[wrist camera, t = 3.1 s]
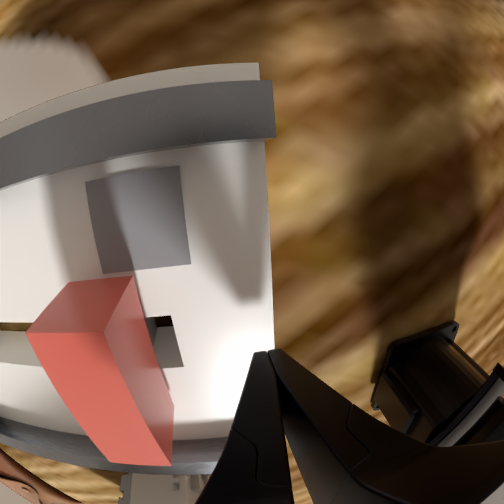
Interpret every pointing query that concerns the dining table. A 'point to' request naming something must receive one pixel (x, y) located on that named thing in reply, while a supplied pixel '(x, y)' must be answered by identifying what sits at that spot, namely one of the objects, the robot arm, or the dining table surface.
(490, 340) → the dining table surface
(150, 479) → the circuit breaker
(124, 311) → the lever
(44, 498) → the sunglasses case
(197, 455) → the grey frame
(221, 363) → the switch panel
